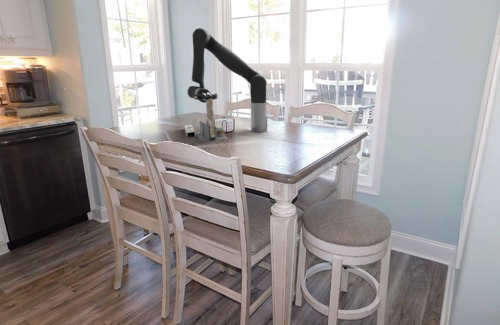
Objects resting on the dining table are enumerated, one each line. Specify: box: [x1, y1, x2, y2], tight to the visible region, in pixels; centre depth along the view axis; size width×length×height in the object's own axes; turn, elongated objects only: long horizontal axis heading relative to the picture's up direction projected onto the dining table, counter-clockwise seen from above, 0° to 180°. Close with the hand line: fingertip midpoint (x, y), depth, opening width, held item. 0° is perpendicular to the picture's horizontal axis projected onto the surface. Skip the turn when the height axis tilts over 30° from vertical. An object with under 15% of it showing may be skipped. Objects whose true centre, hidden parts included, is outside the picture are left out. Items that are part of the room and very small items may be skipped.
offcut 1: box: [214, 123, 224, 131], centre depth 184 cm, size 5×10×2 cm, turn 18°
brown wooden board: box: [205, 98, 215, 138], centre depth 171 cm, size 2×6×20 cm, turn 21°
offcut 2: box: [217, 129, 226, 134], centre depth 184 cm, size 5×10×2 cm, turn 25°
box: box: [184, 124, 197, 138], centre depth 185 cm, size 4×4×28 cm
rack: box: [194, 119, 230, 142], centre depth 180 cm, size 15×21×8 cm
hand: (210, 98), depth 167 cm, fingers closed on brown wooden board, 1 cm apart
